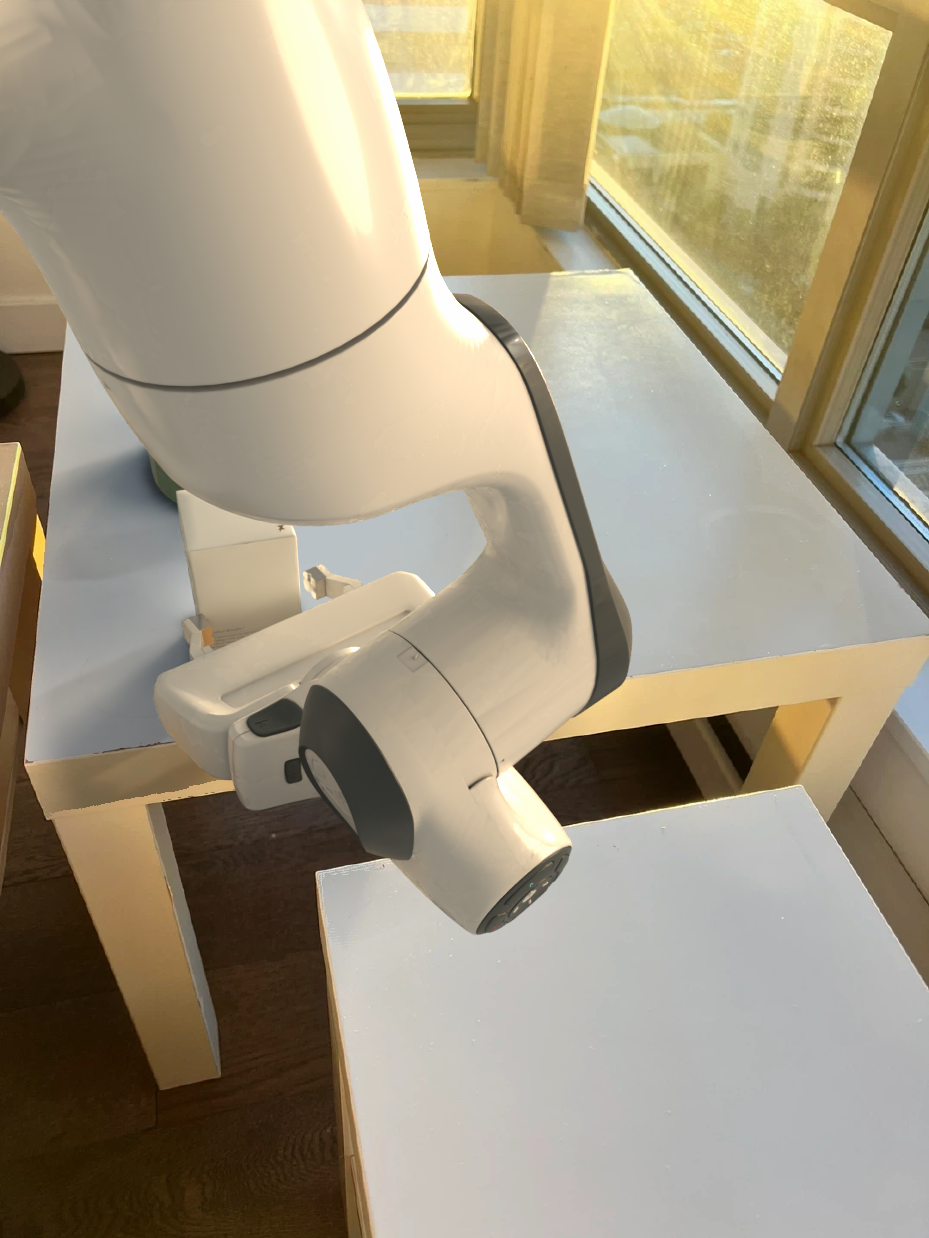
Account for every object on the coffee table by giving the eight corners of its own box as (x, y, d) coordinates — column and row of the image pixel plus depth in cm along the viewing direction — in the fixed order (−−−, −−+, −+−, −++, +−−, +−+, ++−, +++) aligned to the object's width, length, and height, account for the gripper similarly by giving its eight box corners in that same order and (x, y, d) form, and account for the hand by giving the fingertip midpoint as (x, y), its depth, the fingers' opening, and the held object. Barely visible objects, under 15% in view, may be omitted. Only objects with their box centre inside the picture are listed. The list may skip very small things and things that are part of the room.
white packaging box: (289, 607, 77) (279, 475, 69) (306, 670, 72) (298, 536, 64) (195, 621, 75) (173, 487, 67) (206, 687, 70) (184, 551, 62)
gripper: (493, 618, 64) (374, 514, 71) (214, 757, 53) (109, 619, 61) (485, 684, 68) (374, 580, 75) (225, 824, 58) (125, 687, 65)
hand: (253, 598), depth 68 cm, fingers open, 8 cm apart
